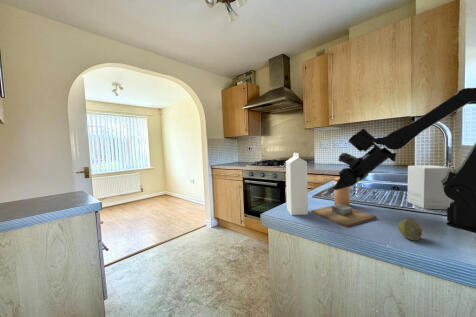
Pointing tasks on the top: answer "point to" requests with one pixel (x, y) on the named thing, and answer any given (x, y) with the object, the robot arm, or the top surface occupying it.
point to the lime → (410, 229)
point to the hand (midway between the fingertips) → (338, 187)
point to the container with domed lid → (341, 194)
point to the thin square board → (343, 215)
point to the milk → (296, 185)
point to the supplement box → (427, 187)
